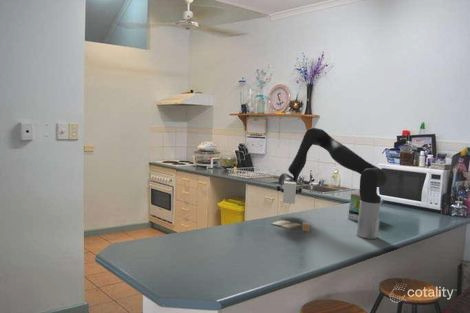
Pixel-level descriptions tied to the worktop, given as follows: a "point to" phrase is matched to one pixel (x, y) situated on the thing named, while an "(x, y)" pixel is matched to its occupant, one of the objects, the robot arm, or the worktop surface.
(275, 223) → the cork mat
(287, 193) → the white rectangular block
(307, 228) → the block
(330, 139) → the robot arm
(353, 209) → the tea box
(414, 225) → the worktop surface
